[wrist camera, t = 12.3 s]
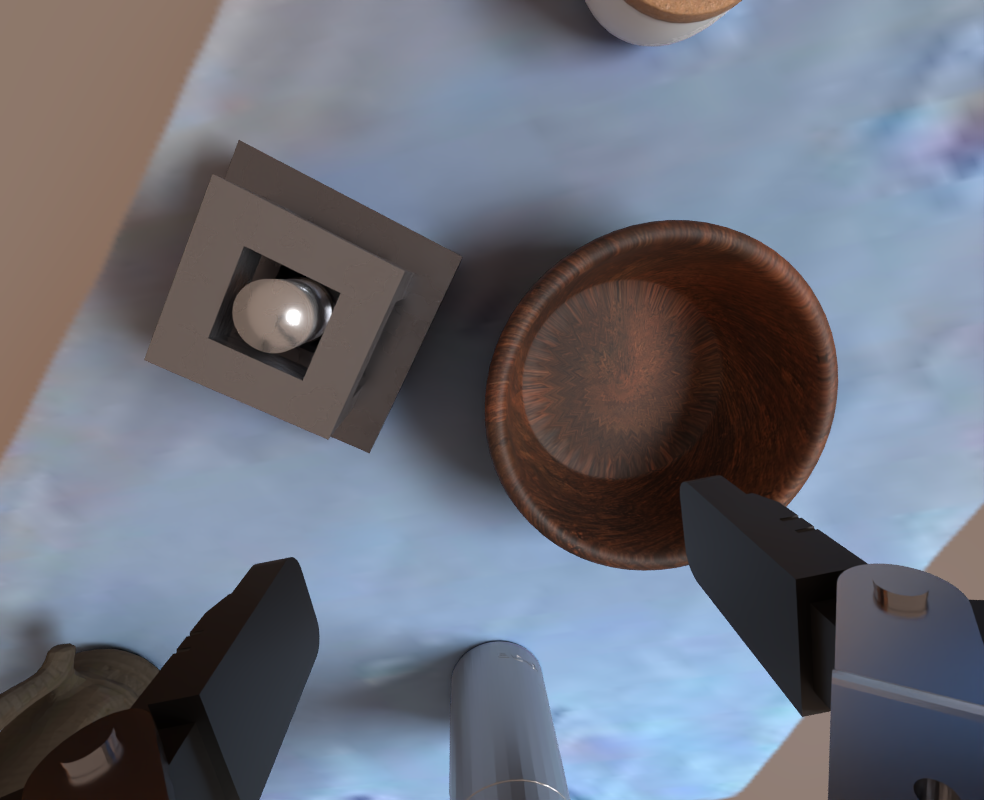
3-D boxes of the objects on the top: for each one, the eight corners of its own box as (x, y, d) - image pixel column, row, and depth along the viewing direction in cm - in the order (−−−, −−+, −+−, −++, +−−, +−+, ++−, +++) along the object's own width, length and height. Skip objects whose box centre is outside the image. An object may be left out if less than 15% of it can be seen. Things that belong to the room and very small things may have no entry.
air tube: (345, 338, 42) (292, 367, 28) (297, 315, 41) (218, 333, 27) (366, 292, 41) (322, 299, 27) (317, 268, 40) (247, 262, 27)
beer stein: (191, 730, 49) (19, 1022, 30) (80, 751, 49) (-165, 1061, 29) (140, 595, 46) (-93, 828, 26) (20, 616, 45) (-307, 870, 26)
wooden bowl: (449, 482, 45) (447, 538, 35) (520, 197, 40) (541, 170, 30) (701, 534, 48) (765, 600, 38) (797, 276, 43) (900, 275, 33)
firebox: (380, 430, 44) (350, 490, 31) (199, 349, 41) (85, 380, 28) (461, 260, 41) (464, 251, 28) (271, 161, 38) (181, 102, 25)
